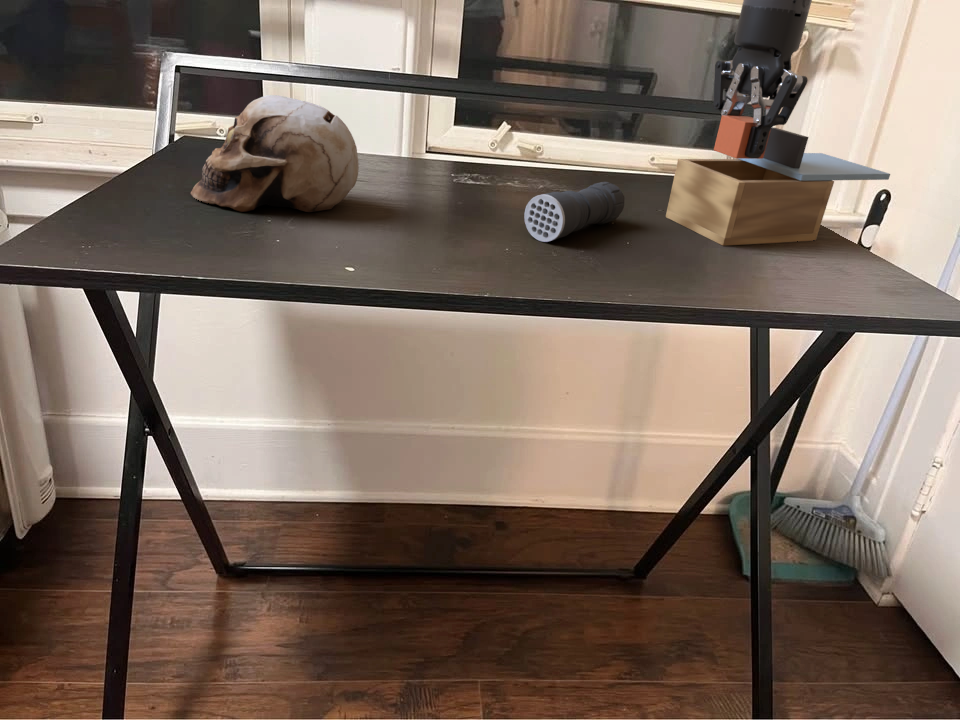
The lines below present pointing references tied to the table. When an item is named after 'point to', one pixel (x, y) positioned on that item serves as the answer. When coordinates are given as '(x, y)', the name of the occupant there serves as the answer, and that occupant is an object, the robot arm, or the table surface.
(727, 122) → the block
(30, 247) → the table surface
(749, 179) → the oak box
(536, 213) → the flashlight
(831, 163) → the sliding lid
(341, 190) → the beige skull model
